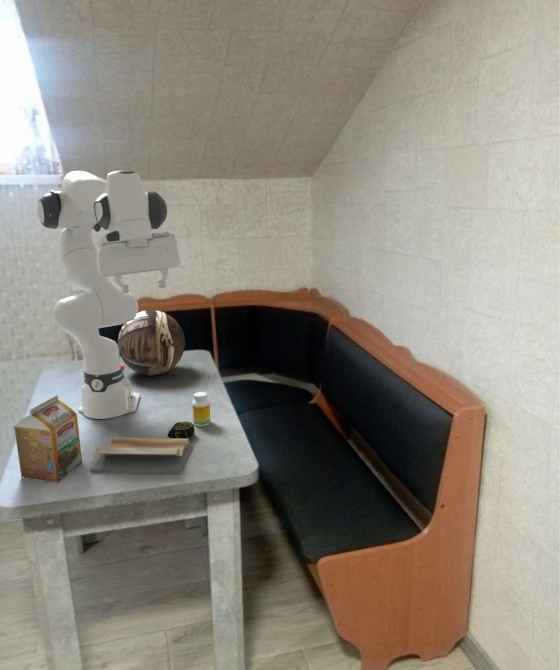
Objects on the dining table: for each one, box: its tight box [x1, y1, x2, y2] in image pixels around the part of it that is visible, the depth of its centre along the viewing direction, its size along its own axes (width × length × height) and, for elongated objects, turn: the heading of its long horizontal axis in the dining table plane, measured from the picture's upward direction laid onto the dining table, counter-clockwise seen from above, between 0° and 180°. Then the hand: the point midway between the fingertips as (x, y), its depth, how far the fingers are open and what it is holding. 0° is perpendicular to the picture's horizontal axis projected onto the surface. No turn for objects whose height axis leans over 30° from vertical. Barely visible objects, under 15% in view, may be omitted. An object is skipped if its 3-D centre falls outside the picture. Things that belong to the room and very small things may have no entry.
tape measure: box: [166, 421, 196, 440], centre depth 167 cm, size 7×7×4 cm
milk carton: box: [13, 394, 83, 484], centre depth 147 cm, size 11×11×19 cm
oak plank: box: [107, 437, 190, 455], centre depth 158 cm, size 7×21×2 cm, turn 86°
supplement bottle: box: [191, 391, 211, 427], centre depth 176 cm, size 5×5×10 cm
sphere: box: [117, 309, 186, 376], centre depth 221 cm, size 25×25×25 cm
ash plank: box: [94, 446, 182, 456], centre depth 151 cm, size 7×21×2 cm, turn 86°
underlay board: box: [90, 442, 193, 475], centre depth 154 cm, size 16×23×1 cm
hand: (144, 290), depth 143 cm, fingers open, 8 cm apart
